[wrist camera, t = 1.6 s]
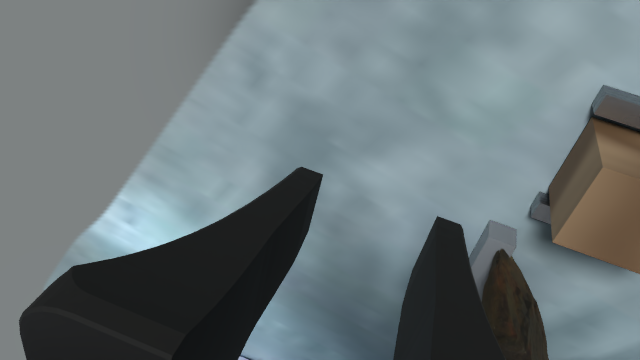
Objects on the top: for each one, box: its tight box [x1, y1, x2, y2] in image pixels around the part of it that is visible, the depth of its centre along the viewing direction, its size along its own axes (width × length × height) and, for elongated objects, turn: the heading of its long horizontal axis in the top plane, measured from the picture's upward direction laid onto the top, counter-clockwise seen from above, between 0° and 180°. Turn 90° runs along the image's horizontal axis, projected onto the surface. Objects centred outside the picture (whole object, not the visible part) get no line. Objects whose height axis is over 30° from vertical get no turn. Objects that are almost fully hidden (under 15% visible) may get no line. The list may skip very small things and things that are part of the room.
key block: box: [549, 117, 640, 274], centre depth 19 cm, size 4×3×4 cm
